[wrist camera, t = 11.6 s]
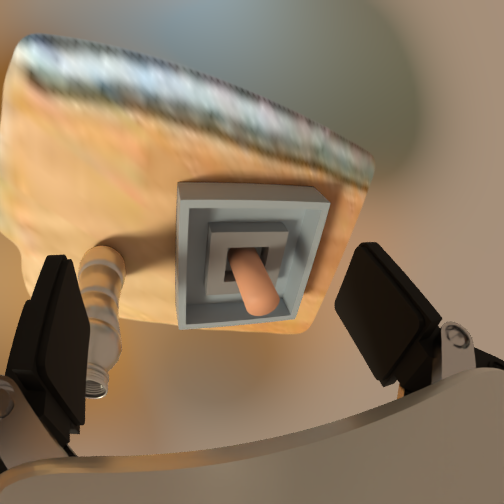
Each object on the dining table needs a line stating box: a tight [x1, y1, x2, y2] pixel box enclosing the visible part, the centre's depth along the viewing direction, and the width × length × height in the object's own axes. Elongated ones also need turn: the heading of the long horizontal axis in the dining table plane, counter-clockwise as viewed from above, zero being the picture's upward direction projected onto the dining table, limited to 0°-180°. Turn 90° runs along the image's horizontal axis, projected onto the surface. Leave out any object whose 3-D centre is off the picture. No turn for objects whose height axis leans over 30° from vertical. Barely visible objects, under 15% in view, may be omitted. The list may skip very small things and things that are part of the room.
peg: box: [227, 247, 280, 316], centre depth 39 cm, size 4×4×10 cm
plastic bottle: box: [78, 246, 126, 399], centre depth 31 cm, size 6×7×20 cm
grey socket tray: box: [175, 182, 331, 330], centre depth 42 cm, size 20×18×5 cm
